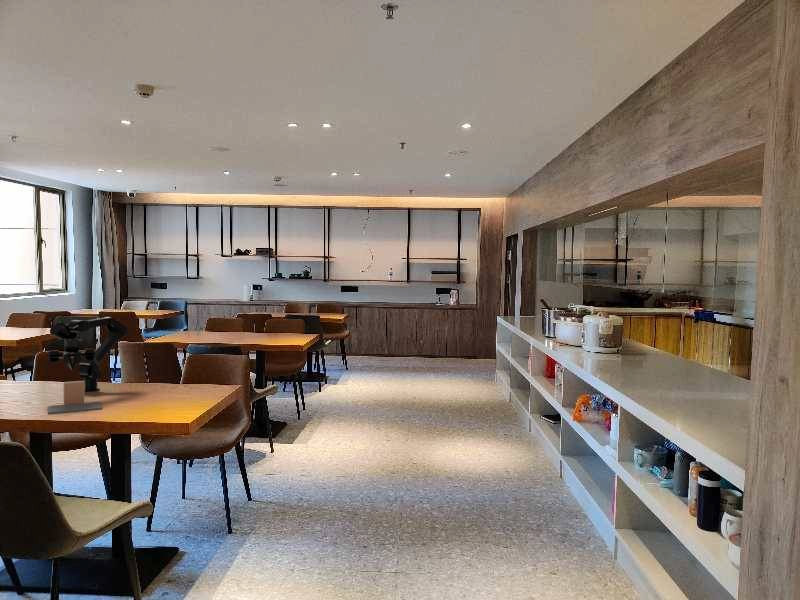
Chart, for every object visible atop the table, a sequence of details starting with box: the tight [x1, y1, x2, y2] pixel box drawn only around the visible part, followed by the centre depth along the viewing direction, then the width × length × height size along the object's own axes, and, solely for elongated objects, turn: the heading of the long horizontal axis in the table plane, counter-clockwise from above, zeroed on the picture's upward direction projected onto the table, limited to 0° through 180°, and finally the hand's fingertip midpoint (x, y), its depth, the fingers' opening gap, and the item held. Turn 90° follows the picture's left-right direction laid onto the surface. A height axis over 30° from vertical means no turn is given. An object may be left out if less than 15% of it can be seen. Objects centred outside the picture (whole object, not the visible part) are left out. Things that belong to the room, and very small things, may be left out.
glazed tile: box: [62, 380, 85, 405], centre depth 256 cm, size 3×8×10 cm, turn 122°
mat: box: [47, 401, 103, 415], centre depth 248 cm, size 13×20×1 cm, turn 122°
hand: (72, 369), depth 265 cm, fingers closed
